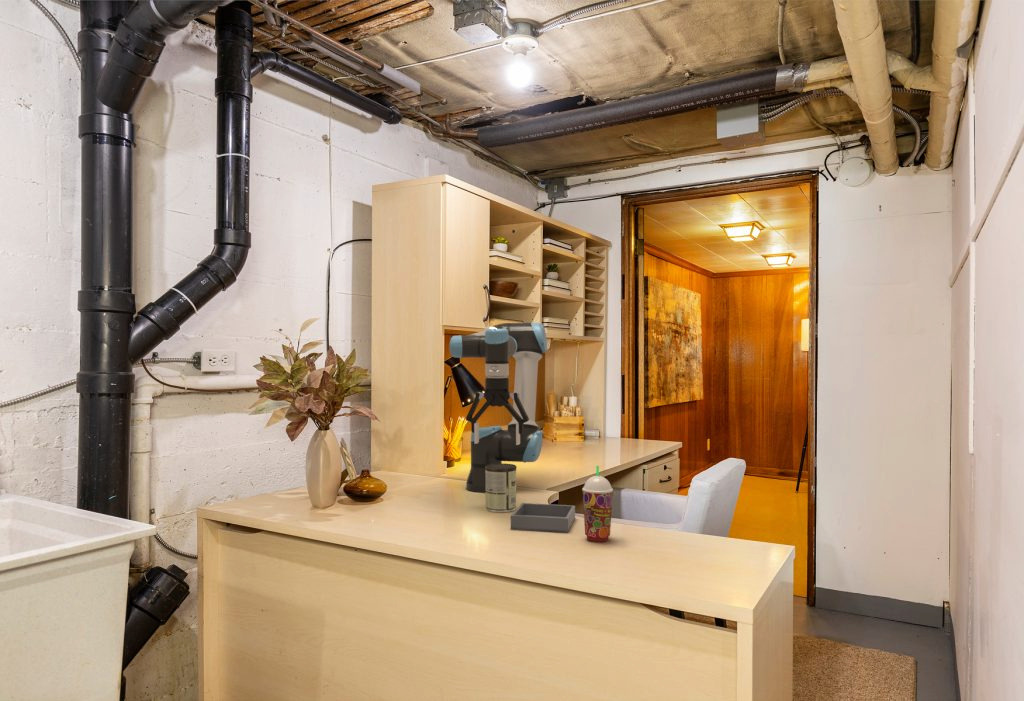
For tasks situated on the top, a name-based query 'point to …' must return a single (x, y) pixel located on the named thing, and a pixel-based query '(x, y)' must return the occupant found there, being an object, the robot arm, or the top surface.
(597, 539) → the smoothie
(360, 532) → the top surface
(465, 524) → the top surface
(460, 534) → the top surface
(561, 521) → the bin
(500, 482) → the coffee can
